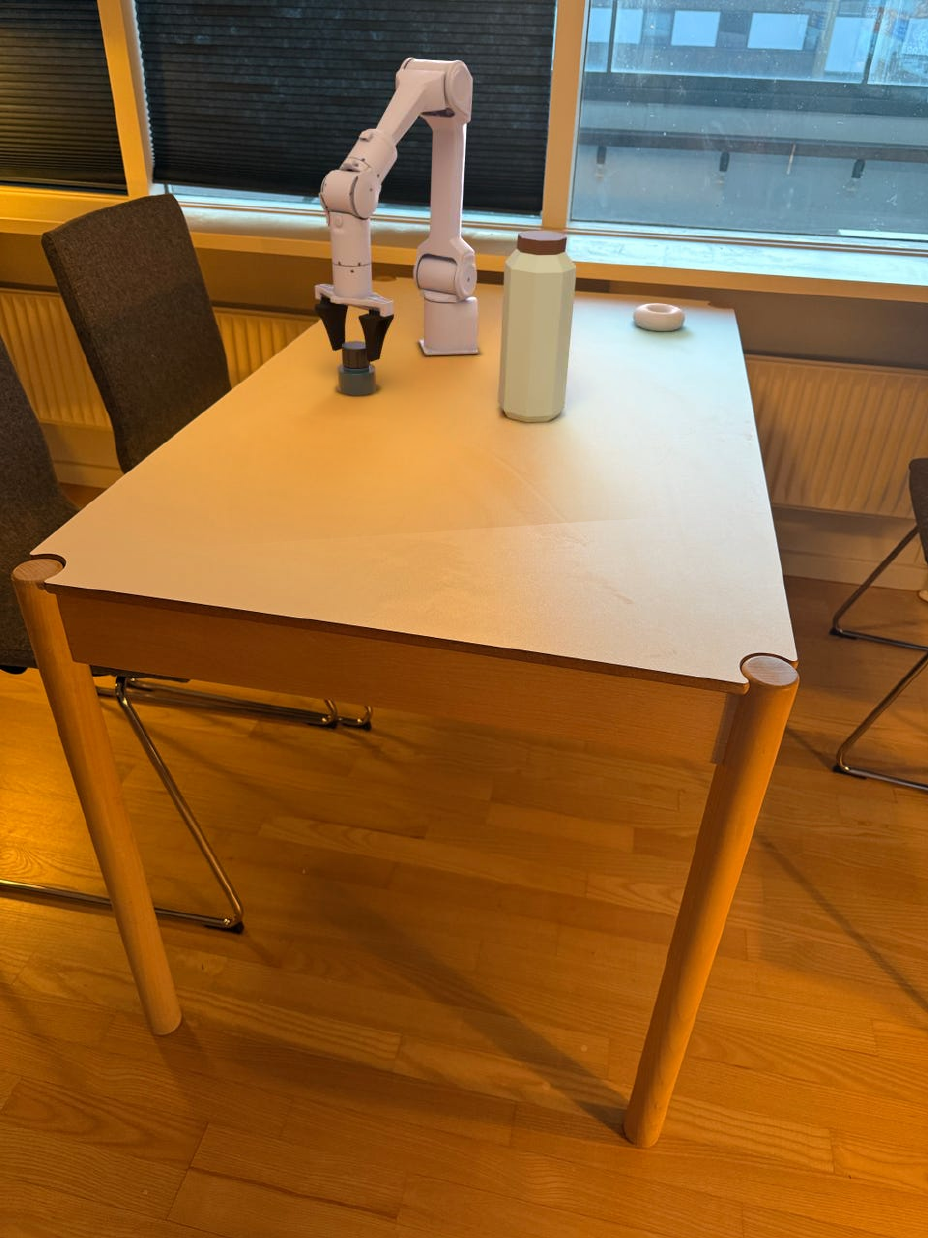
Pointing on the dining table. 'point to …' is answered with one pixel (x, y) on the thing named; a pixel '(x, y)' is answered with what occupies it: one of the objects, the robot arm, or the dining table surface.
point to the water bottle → (536, 327)
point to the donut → (659, 317)
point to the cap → (354, 354)
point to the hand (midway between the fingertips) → (355, 354)
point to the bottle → (356, 380)
